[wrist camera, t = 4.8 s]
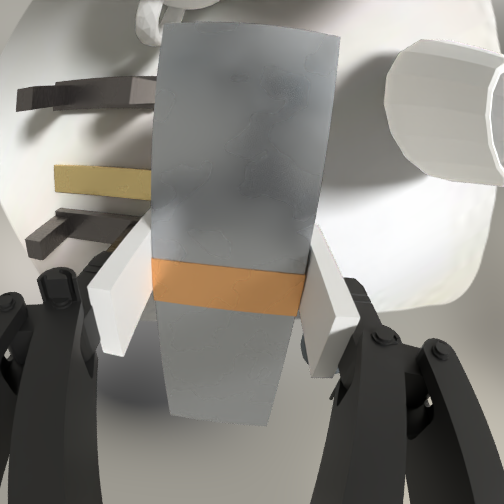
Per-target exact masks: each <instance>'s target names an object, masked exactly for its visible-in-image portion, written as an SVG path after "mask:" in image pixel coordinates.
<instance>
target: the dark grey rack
mask: <svg viewBox="0 0 504 504" xmlns="http://www.w3.org/2000/svg"><path fill="white" fill-rule="evenodd" d="M156 82H157V76H129V77H106V78H91V79H80V80H71V81H62V82H56V83H55V86H34V87H28V88H23V89H18V90H17V104H16V112H19V111H26V110H33V109H40V108H46V107H53V111H56V110H69V109H88V108H154V104H155V92H156ZM54 177H55V192H66V193H78V194H90V195H101V196H111V197H121V198H131V199H141V200H150V201H151V170H145V169H133V168H118V167H102V166H82V165H54ZM55 212H56V216H54V217H53V218H52V219H50V220H49V221H48V222H46V223H45V224H44V225H42V226H41V227H40V228H38V229H37V230H36V231H35V232H33V233H32V234H31V235H30V236H28V237H27V238H26V239H25V241H26V246H27V252H28V256H29V258H34V259H39V260H44V259H45V258H46V257H47V256H48V255H49V254H50V253H51V252H52V251H53V250H54V249H55V248H56V247H57V246H59V245H60V244H61V243H62V242H63V241H64V240H65V239H66V238H67V237H70V238H77V239H83V240H90V241H97V242H103V243H110V244H112V245H111V246H110V247H109V248H108V250H107V251H106V252H114V251H115V250H116V248H117V247H118V246H119V245H120V243H121V242H122V241H123V240H124V238H125V237H126V236H127V235H128V233H129V232H130V231H131V230H132V229H133V227H134V226H135V225H136V224H137V223H138V222H139V220H140V219H141V218H142V217H136V216H128V215H119V214H111V213H102V212H93V211H84V210H75V209H66V208H59V209H58V210H56V211H55Z"/></svg>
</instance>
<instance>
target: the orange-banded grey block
mask: <svg viewBox="0 0 504 504" xmlns="http://www.w3.org/2000/svg"><path fill="white" fill-rule="evenodd" d="M339 45H340V37H338V36H334V35H329V34H324V33H319V32H314V31H308V30H302V29H296V28H289V27H281V26H273V25H263V24H251V23H234V22H182V23H165V24H164V27H163V34H162V40H161V48H160V55H159V63H158V72H157V82H156V92H155V104H154V118H153V135H152V160H151V232H152V258H151V267H152V283H153V295H154V300H155V302H156V313H157V323H158V332H159V340H160V349H161V357H162V364H163V371H164V378H165V385H166V391H167V397H168V403H169V408H170V414H171V415H175V416H180V417H187V418H193V419H200V420H206V421H214V422H222V423H232V424H243V425H255V426H267V423H268V419H269V416H270V413H271V409H272V405H273V402H274V398H275V394H276V391H277V387H278V383H279V380H280V376H281V372H282V368H283V364H284V360H285V356H286V352H287V348H288V344H289V340H290V336H291V331H292V327H293V323H294V319H295V316H297V312H298V308H299V304H300V299H301V295H302V290H303V286H304V281H305V276H306V275H305V269H306V264H307V259H308V254H309V249H310V244H311V239H312V234H313V229H314V223H315V218H316V212H317V207H318V201H319V195H320V189H321V184H322V177H323V171H324V165H325V159H326V152H327V145H328V138H329V131H330V124H331V117H332V109H333V101H334V93H335V84H336V75H337V66H338V56H339Z"/></svg>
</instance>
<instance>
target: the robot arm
mask: <svg viewBox="0 0 504 504" xmlns="http://www.w3.org/2000/svg"><path fill="white" fill-rule="evenodd" d="M151 258H152V232H151V208H150V209H149V210H148V211H147V212H146V213H145V215H144V216H143V217H142V218H141V219H140V220H139V222H138V223H137V224H136V225H135V226H134V227H133V229H132V230H131V231H130V232H129V233H128V235H127V236H126V237H125V238H124V240H123V241H122V242H121V243H120V245H119V246H118V247H117V248H116V250H115V251H114V252H106V251H103V252H102V253H100V254H98V255H97V256H95V257H94V258H93V259H92V260H91V261H90V262H89V264H88V266H86V267H85V268H84V270H83V272H81V273H80V274H79V276H78V277H77V276H76V273H75V272H74V271H73V270H72V269H70V268H66V267H57V268H52V269H50V270H47V271H45V272H44V273H42V274H41V275H40V276H39V277H38V279H37V282H38V286H39V289H40V293H41V296H42V299H43V304H40V305H39V304H38V305H26V304H25V301H24V298H23V297H22V295H21V294H19V293H17V292H8V293H5V294H3V295H1V296H0V486H1V482H2V478H3V474H4V471H5V467H6V464H7V461H8V457H9V473H8V504H103V503H102V495H101V487H100V478H99V466H98V451H97V420H96V400H97V399H96V398H97V370H98V369H97V368H98V357H97V353H96V348H97V346H98V344H99V342H101V345H102V349H103V352H104V353H109V354H113V355H118V356H122V357H123V356H124V355H125V352H126V350H127V347H128V345H129V342H130V340H131V338H132V335H133V333H134V330H135V328H136V326H137V324H138V321H139V319H140V317H141V315H142V312H143V310H144V308H145V306H146V303H147V301H148V299H149V297H150V295H151V292H152V290H153V283H152V267H151ZM305 275H306V276H305V281H304V286H303V290H302V295H301V299H300V304H299V313H300V318H301V323H302V329H303V334H304V340H305V345H306V351H307V356H308V362H309V368H310V373H311V378H333V376H334V374H335V372H336V370H337V368H338V369H339V373H340V379H339V381H338V383H337V385H336V387H335V389H334V390H333V392H332V394H331V396H330V398H329V399H330V400H332V399H333V397H334V402H333V407H332V412H331V418H330V423H329V428H328V433H327V438H326V442H325V447H324V451H323V456H322V460H321V464H320V468H319V473H318V476H317V480H316V484H315V488H314V492H313V495H312V499H311V502H310V504H403V497H404V485H405V475H406V480H407V486H408V492H409V498H410V504H504V470H503V467H502V463H501V460H500V457H499V454H498V451H497V448H496V445H495V442H494V440H493V437H492V434H491V431H490V429H489V426H488V424H487V421H486V419H485V416H484V414H483V411H482V409H481V406H480V404H479V402H478V399H477V397H476V395H475V393H474V390H473V388H472V386H471V384H470V382H469V380H468V378H467V375H466V373H465V371H464V369H463V367H462V365H461V363H460V361H459V359H458V357H457V355H456V353H455V351H454V350H453V349H452V347H451V346H450V345H448V344H447V343H446V342H444V341H442V340H440V339H435V338H432V339H428V340H427V341H425V342H424V344H423V346H422V348H417V347H413V346H409V345H405V344H403V343H402V342H401V339H400V337H399V335H398V334H397V333H396V332H395V331H394V330H392V329H391V328H389V327H387V326H384V325H382V323H381V321H380V319H379V317H378V315H377V313H376V311H375V309H374V307H373V305H372V303H371V301H370V299H369V297H368V296H367V293H366V291H365V289H364V287H363V286H362V285H361V284H360V283H359V282H358V281H357V280H356V279H354V278H344V277H343V276H342V274H341V272H340V270H339V267H338V265H337V263H336V261H335V259H334V256H333V254H332V252H331V250H330V248H329V246H328V244H327V242H326V239H325V237H324V235H323V233H322V231H321V229H320V227H319V225H316V224H314V229H313V234H312V239H311V244H310V249H309V254H308V259H307V264H306V269H305ZM7 349H9V352H10V354H11V355H10V356H9V358H8V359H6V358H5V356H4V354H5V352H6V350H7ZM429 397H431V400H432V403H433V404H432V405H431V406H430V405H429V403H428V400H427V399H428V398H429ZM9 454H10V456H9Z"/></svg>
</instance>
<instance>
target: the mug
mask: <svg viewBox="0 0 504 504" xmlns="http://www.w3.org/2000/svg"><path fill="white" fill-rule="evenodd" d="M219 1H220V0H140V1H139V5H138V9H137V13H136V17H135V24H136V35H137V37H138V39H139V40H140V41H141V42H142V43H143V44H145V45H148V46H153V47H155V46H160V45H161V40H162V34H163V27H164V24H165V23H181V21H182V19H183V17H184V12H185V9H202V8H205V7H208V6H211V5H213V4H215V3H217V2H219ZM163 4H164V5H166V6H168V8H167V10H166V12H165V14H164V16H163V18H162V20H161V21H160V23H159V17H160V13H161V9H162V6H163Z"/></svg>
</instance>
